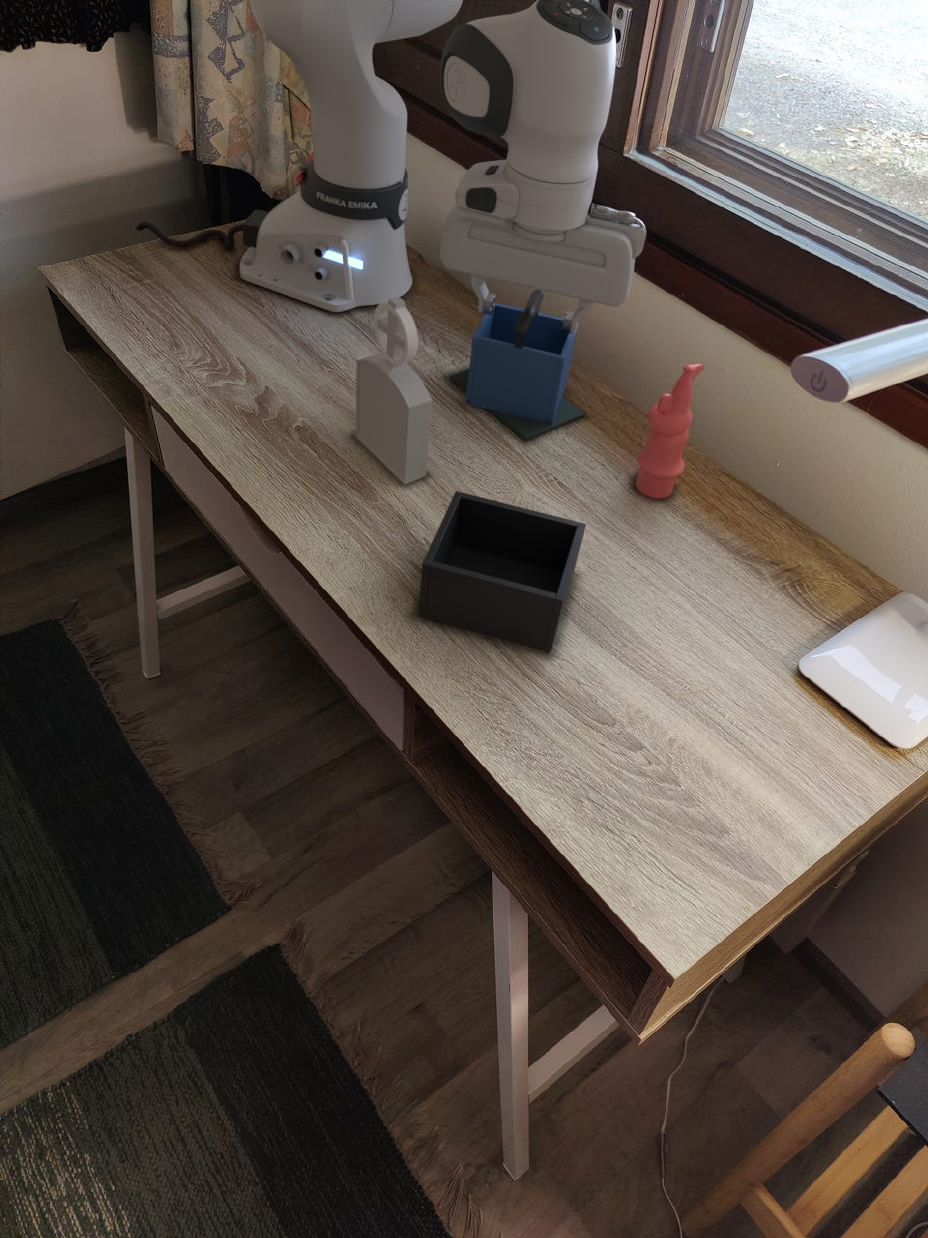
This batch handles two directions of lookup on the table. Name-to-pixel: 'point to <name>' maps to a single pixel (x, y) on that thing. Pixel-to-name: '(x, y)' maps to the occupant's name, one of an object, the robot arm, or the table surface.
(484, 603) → the charcoal bin
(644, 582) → the table surface
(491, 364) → the blue bin
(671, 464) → the figurine
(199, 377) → the table surface
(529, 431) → the mat
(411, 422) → the gravestone
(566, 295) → the robot arm
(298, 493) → the table surface
